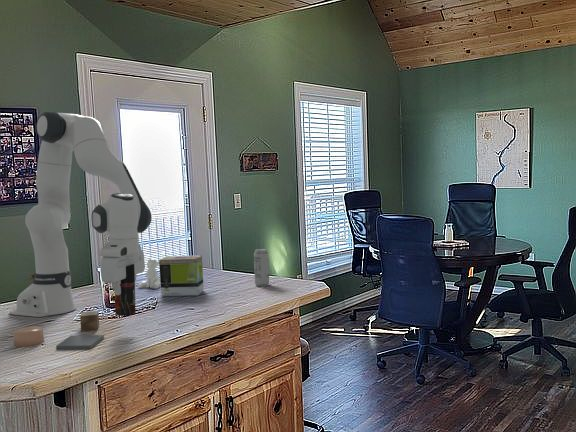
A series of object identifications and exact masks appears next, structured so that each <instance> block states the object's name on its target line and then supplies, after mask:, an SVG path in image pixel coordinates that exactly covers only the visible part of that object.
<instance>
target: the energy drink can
mask: <svg viewBox="0 0 576 432" xmlns="http://www.w3.org/2000/svg"><path fill="white" fill-rule="evenodd" d="M269 262H270V261H269V252H268V251H267V248H256V249H254V253H253V267H254V269H253V270H254V272H253V273H254V284H255V286H256V287H267V286H269V284H270V269H269V268H270V265H269Z"/></svg>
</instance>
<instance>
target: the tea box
mask: <svg viewBox="0 0 576 432" xmlns="http://www.w3.org/2000/svg"><path fill="white" fill-rule="evenodd" d="M158 262H159V265H158V266H159V279H160V295H161V297H174V296H176V297H177V296H180V297H181V296H199V295H201V293H203V292H204V273H203V271H204V270H203V256H202V255H197V254H196V255H171V256H169V255H168V256H165V257H163V258H160V259H159V260H158Z"/></svg>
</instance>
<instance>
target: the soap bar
mask: <svg viewBox="0 0 576 432" xmlns="http://www.w3.org/2000/svg"><path fill="white" fill-rule="evenodd" d="M12 334H13V346H14V347H16V348H30V347H36V346H39V345H41V344H43V343H44V342H45V336H44V335H45V333H44V327H42V326H24V327H20V328H17V329H15V330H14V331H13V332H12Z"/></svg>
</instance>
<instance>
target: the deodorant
mask: <svg viewBox="0 0 576 432" xmlns="http://www.w3.org/2000/svg"><path fill="white" fill-rule="evenodd" d="M120 287H121V288H122V294H121V295H115V294H114V307H115V311H114V313H115V315H116V316H119V317H125V316H128V317H129V316H132V315H135V314H136V281H135V269H134V264H132V265H129V266H126V278H125V279H123V280H121V284H120Z"/></svg>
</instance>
